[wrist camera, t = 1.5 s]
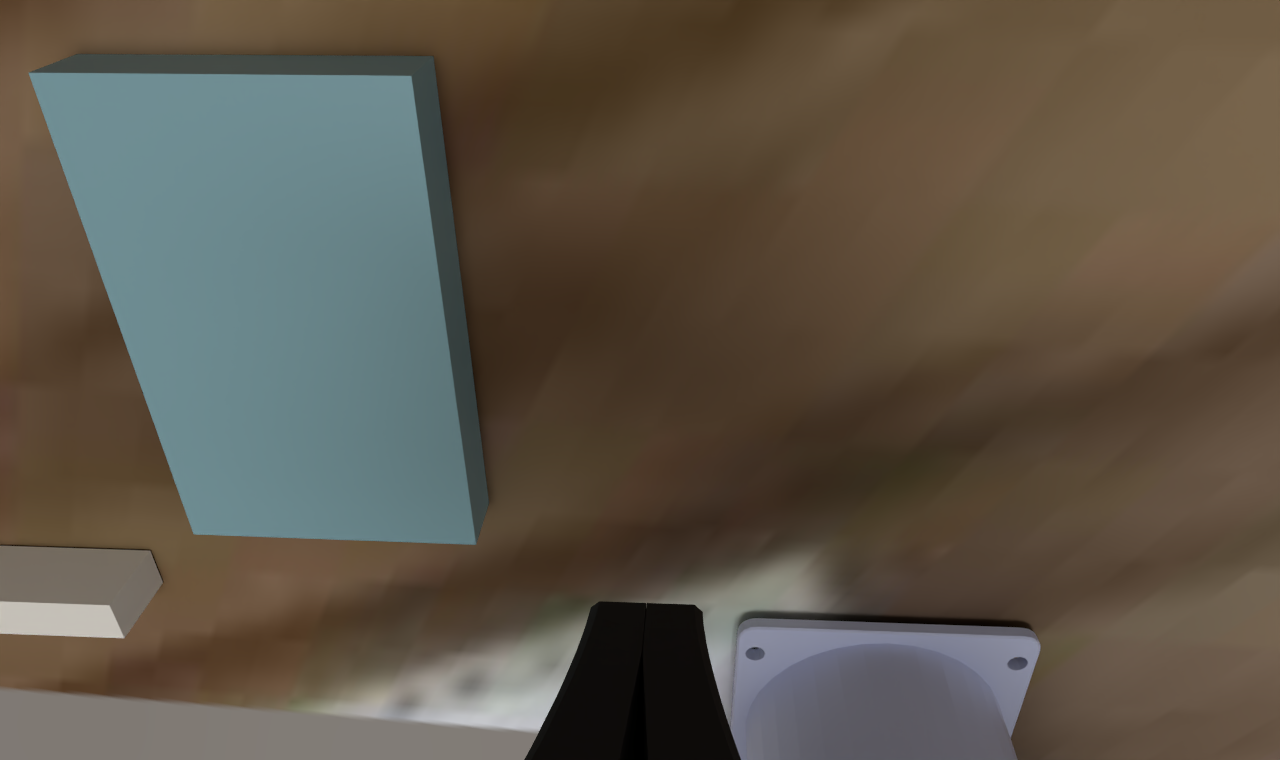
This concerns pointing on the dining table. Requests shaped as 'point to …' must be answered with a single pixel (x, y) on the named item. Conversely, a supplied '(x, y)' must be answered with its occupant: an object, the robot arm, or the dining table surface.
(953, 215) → the dining table surface
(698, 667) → the robot arm
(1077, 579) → the dining table surface
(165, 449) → the rectangular block
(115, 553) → the rack
